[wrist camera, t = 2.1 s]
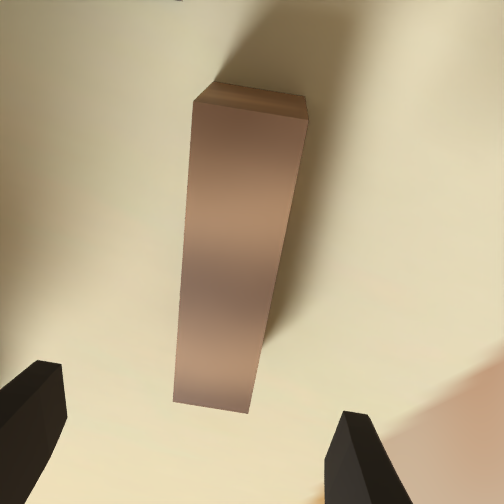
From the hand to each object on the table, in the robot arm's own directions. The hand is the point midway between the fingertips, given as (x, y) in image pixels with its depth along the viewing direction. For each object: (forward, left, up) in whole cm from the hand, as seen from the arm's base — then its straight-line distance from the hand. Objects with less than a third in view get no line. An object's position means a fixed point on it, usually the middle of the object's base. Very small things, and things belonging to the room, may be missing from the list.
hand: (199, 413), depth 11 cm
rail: (0, 0, -9) cm, 9 cm away
